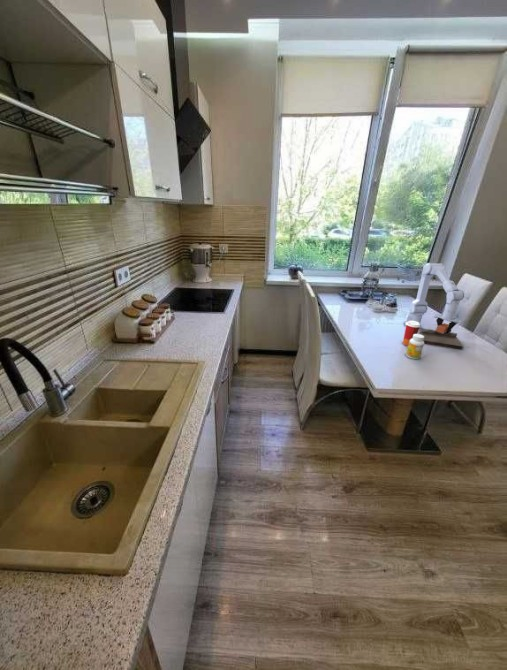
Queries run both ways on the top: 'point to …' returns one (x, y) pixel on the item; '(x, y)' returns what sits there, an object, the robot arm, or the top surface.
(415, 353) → the supplement bottle
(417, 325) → the paper cup
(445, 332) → the reddish orange block
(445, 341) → the shelf board
